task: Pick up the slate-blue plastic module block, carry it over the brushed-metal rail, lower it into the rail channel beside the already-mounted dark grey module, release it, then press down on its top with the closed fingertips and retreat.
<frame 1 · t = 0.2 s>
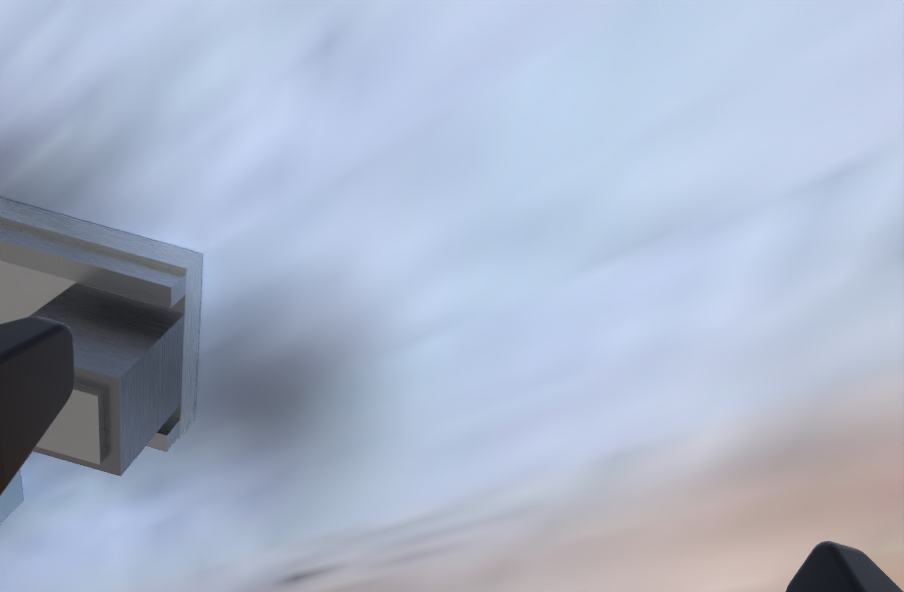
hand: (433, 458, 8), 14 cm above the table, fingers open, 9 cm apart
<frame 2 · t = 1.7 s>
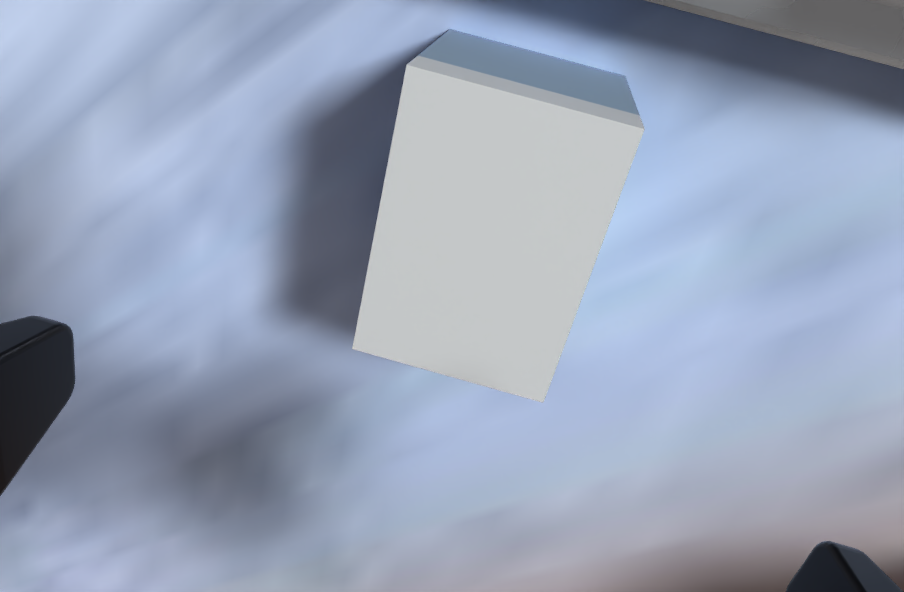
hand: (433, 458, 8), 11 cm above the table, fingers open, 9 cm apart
module: (504, 171, 18), on the table
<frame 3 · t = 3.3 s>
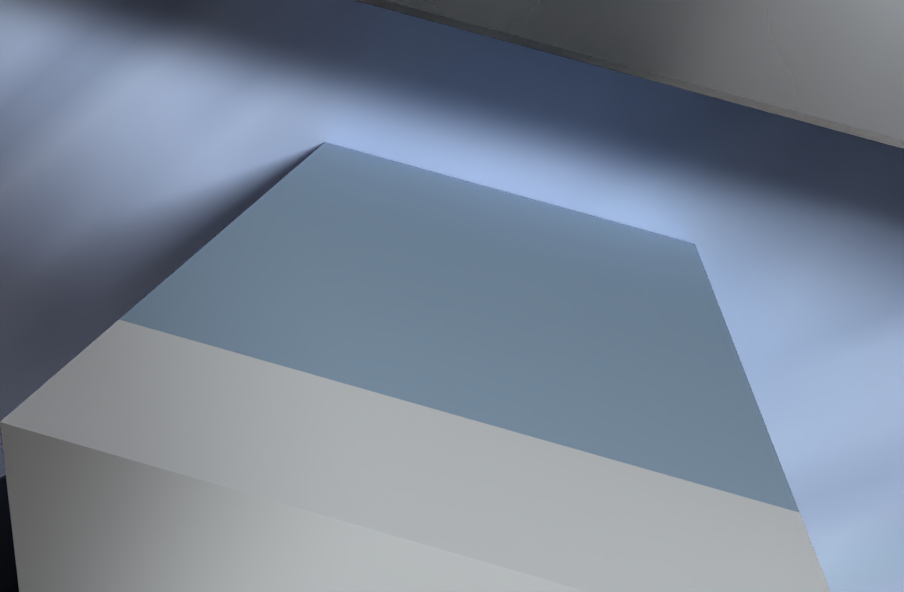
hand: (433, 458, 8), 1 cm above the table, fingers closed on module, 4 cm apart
module: (447, 404, 9), on the table, touching gripper
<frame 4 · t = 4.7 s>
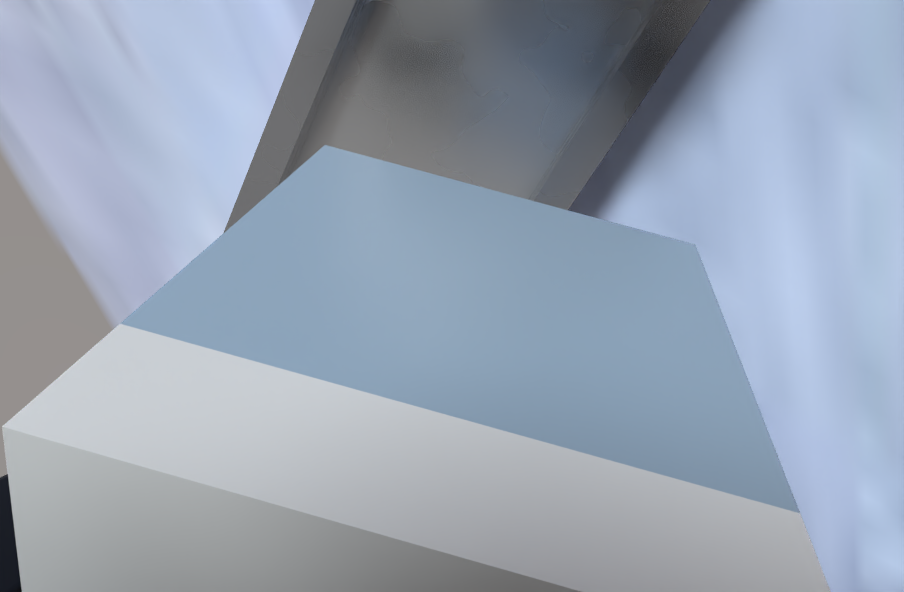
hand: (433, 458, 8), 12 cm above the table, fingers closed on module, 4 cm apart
module: (449, 405, 9), point 11 cm above the table, touching gripper
din rail: (455, 100, 18), on the table
when the fingers open (3 cm above the table, at t = 6.4 s): module drops 1 cm, resting on din rail.
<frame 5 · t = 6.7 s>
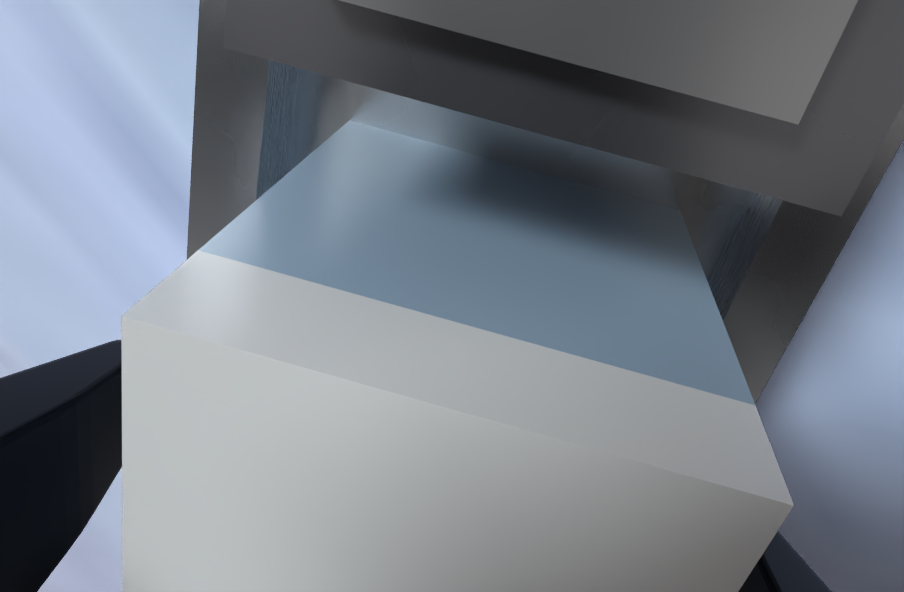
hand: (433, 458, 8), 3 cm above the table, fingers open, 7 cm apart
module: (458, 361, 10), point 1 cm above the table, touching din rail
din rail: (467, 321, 11), on the table
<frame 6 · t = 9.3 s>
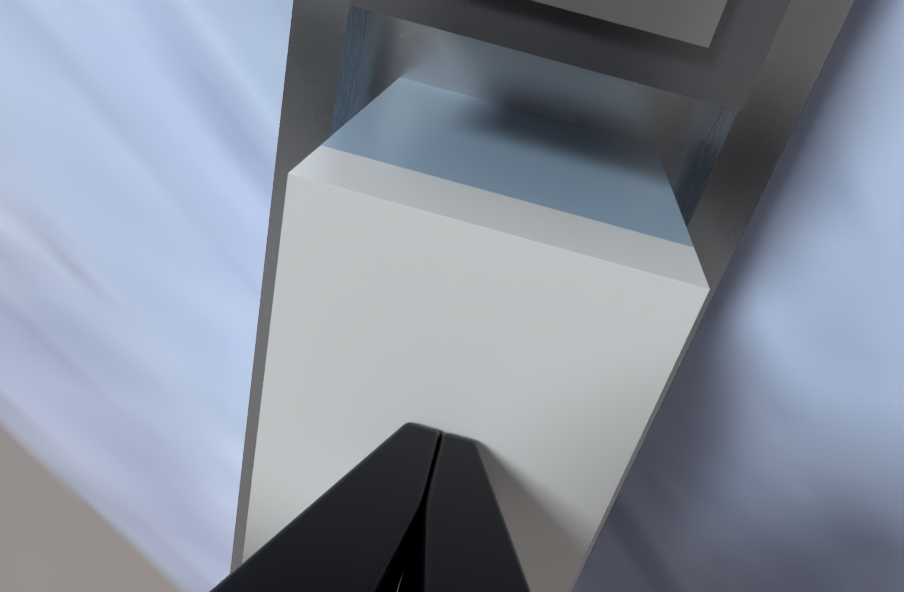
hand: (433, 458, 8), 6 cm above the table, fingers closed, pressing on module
module: (481, 274, 13), point 1 cm above the table, touching din rail, gripper
din rail: (487, 248, 14), on the table
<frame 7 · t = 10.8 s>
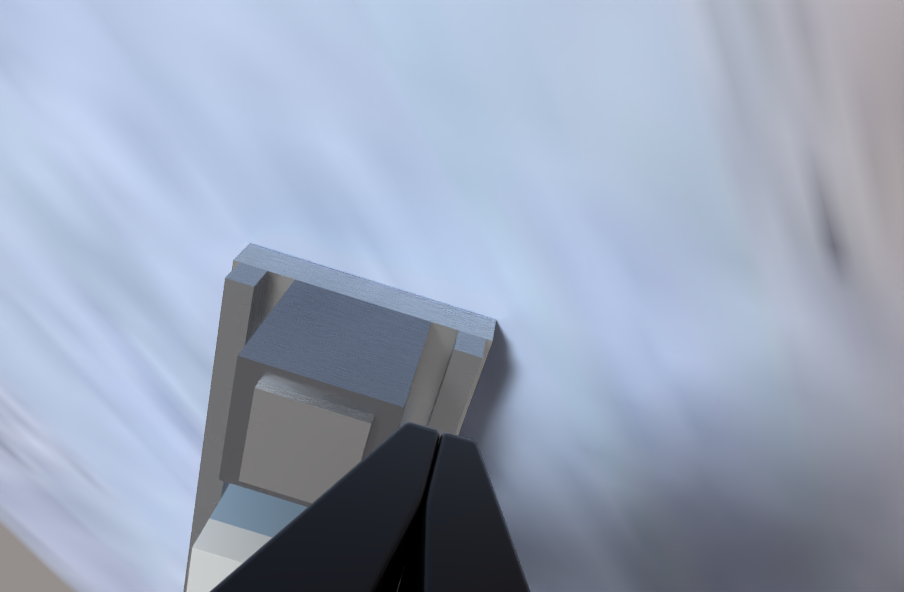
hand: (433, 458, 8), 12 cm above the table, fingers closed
module: (311, 510, 24), point 1 cm above the table, touching din rail
din rail: (321, 485, 25), on the table
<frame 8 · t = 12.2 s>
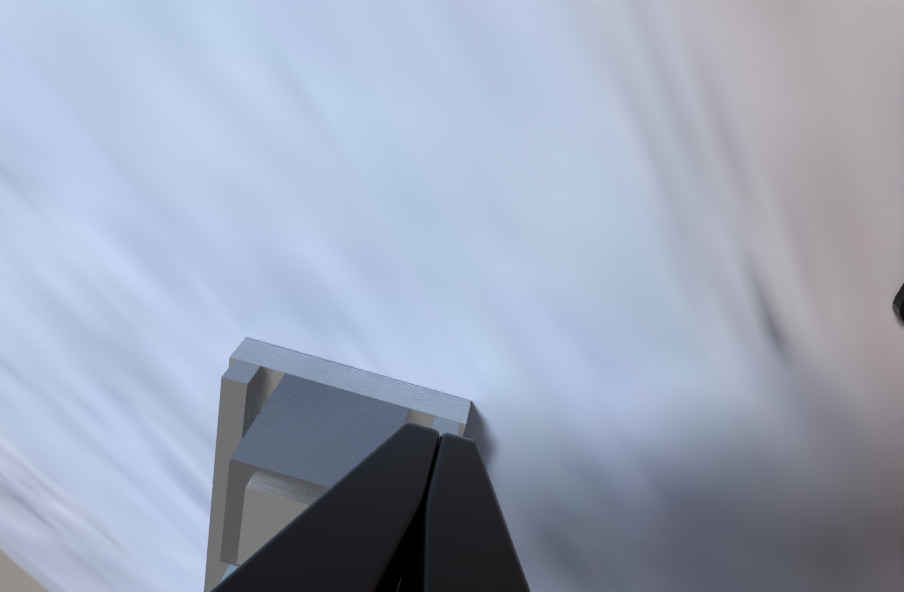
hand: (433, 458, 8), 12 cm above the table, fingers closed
din rail: (322, 546, 27), on the table
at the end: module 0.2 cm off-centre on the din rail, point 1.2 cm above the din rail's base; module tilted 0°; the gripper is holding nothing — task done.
